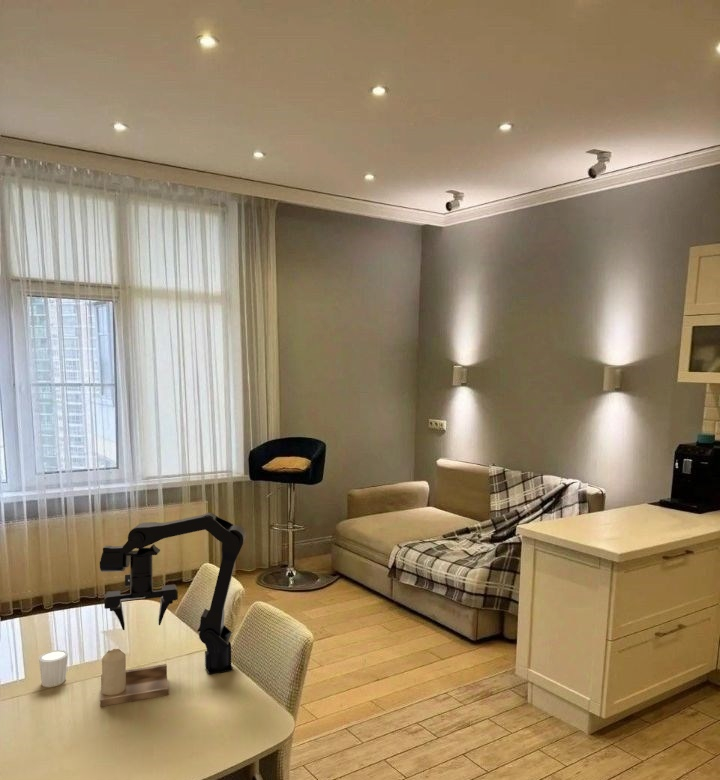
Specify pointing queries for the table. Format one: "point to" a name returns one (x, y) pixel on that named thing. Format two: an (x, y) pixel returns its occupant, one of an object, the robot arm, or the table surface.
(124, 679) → the candle
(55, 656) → the white cylinder
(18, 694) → the table surface
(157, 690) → the board
